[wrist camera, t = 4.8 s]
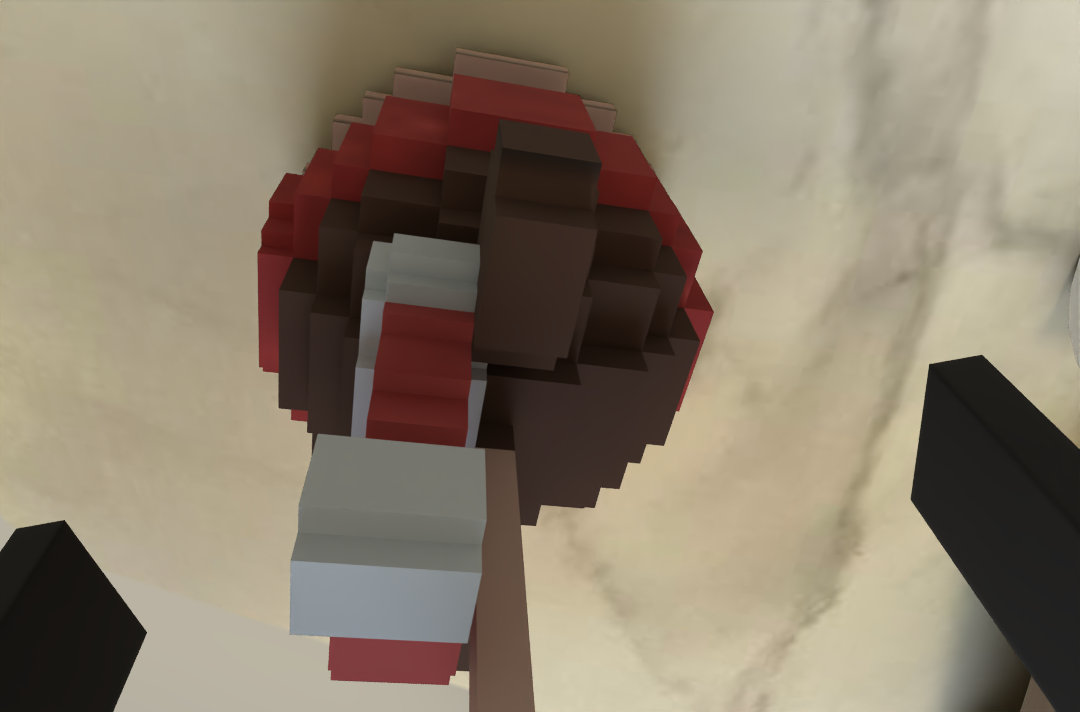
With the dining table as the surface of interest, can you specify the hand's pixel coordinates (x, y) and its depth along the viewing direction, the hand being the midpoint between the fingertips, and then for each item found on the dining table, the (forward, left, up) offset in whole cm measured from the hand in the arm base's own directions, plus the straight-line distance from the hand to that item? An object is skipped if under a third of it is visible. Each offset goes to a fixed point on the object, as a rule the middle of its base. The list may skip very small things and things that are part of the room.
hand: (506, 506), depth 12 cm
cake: (0, 0, -11) cm, 11 cm away
